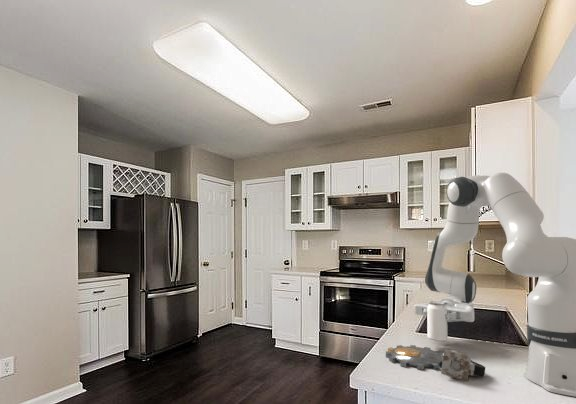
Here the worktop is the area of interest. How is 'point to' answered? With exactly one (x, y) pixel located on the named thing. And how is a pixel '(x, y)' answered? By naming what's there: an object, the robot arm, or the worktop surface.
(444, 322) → the can
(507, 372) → the worktop surface
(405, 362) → the sprocket plate
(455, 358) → the caster wheel
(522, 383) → the worktop surface
